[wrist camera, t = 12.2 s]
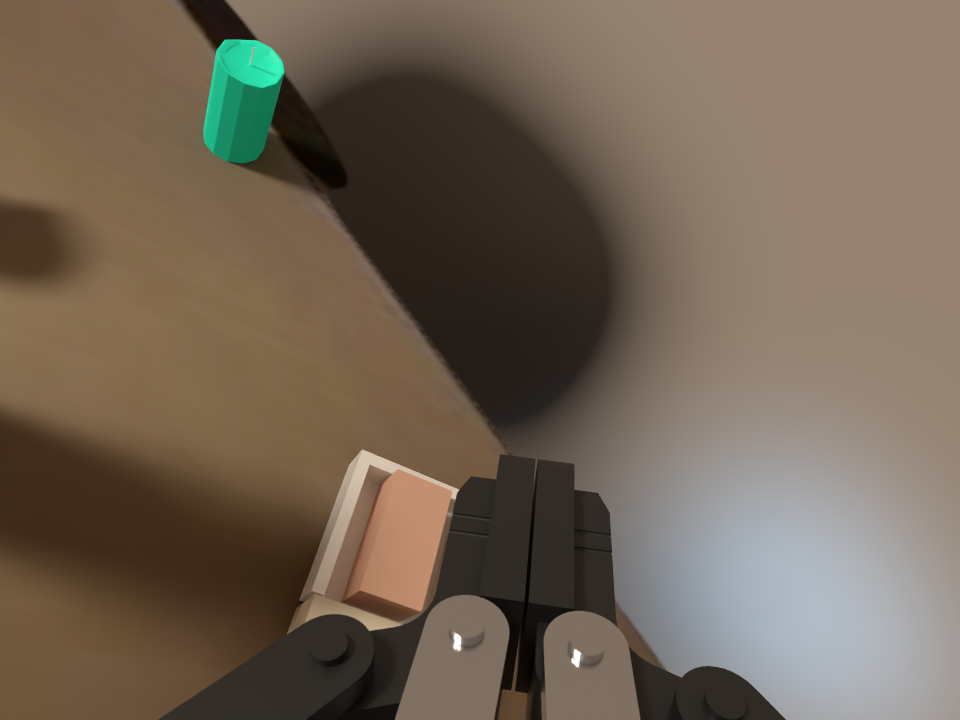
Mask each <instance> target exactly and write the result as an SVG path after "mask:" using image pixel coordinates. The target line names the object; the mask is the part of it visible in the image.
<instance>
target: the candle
mask: <svg viewBox="0 0 960 720" xmlns="http://www.w3.org/2000/svg"><path fill="white" fill-rule="evenodd" d="M283 76H284V68H283V62H282V60H281V59H280V58H279V56H278V55H277V54H276V53H275V52H274V50H273V49H272V48H270V47H268V46H266V45H264V44H262V43H261V42H259V41H255V40H224V42H223V43H222V44H221V46H220V47H219V48H218V50H217V51H216V57H215V63H214V69H213V76H212V82H211V88H210V94H209V100H208V106H207V112H206V118H205V124H204V130H203V131H204V142H205V144H206V145H207V146H208V148H209V149H210V150H211V151H212V153H213V154H215V155H217V156H219V157H220V158H222V159H224V160H226V161H228V162H235V163H243V164H244V163H247V162H251V161H254V160H257V159H258V157H259V156H260V154H261V153H262V152H263V150H264V146H265V143H266V139H267V135H268V131H269V128H270V124H271V120H272V116H273V113H274V109H275V105H276V102H277V98H278V94H279V90H280V87H281V83H282V79H283Z"/></svg>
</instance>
